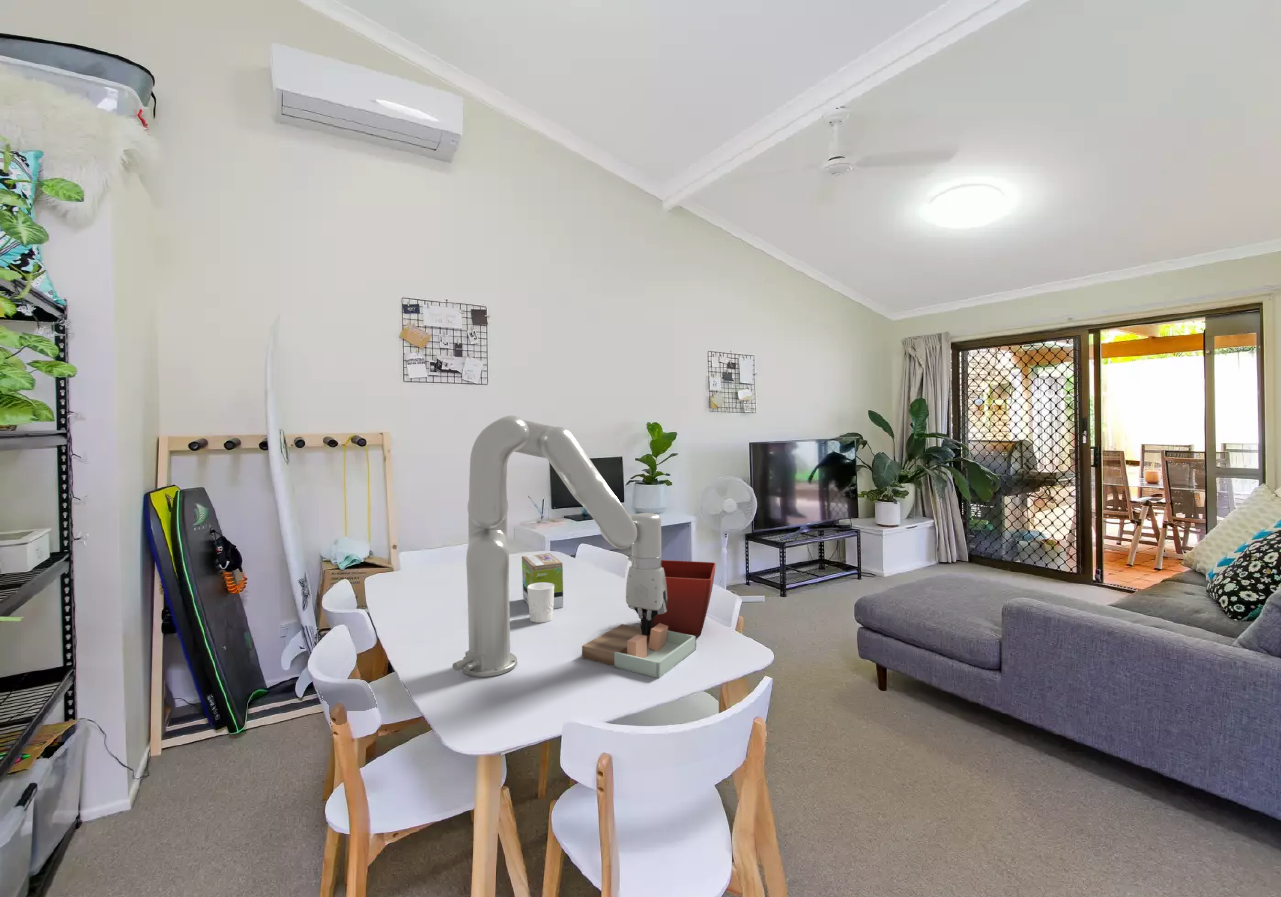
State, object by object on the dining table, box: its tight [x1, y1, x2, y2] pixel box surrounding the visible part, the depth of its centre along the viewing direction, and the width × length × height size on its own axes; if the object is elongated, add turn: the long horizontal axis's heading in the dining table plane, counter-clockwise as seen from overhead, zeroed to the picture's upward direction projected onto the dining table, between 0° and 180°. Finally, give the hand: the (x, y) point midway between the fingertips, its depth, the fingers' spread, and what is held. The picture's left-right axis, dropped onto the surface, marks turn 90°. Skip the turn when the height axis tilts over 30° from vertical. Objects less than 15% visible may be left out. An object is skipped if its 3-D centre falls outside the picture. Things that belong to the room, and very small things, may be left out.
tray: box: [614, 631, 697, 679], centre depth 139 cm, size 19×12×4 cm, turn 149°
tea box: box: [521, 553, 564, 610], centre depth 184 cm, size 15×10×15 cm, turn 25°
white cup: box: [527, 582, 554, 624], centre depth 169 cm, size 8×8×10 cm
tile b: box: [648, 623, 668, 651], centre depth 145 cm, size 5×5×2 cm
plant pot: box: [654, 559, 717, 637], centre depth 160 cm, size 19×19×17 cm
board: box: [581, 623, 650, 667], centre depth 145 cm, size 18×10×3 cm, turn 149°
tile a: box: [627, 634, 647, 658], centre depth 137 cm, size 5×5×2 cm
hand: (647, 633), depth 145 cm, fingers closed
